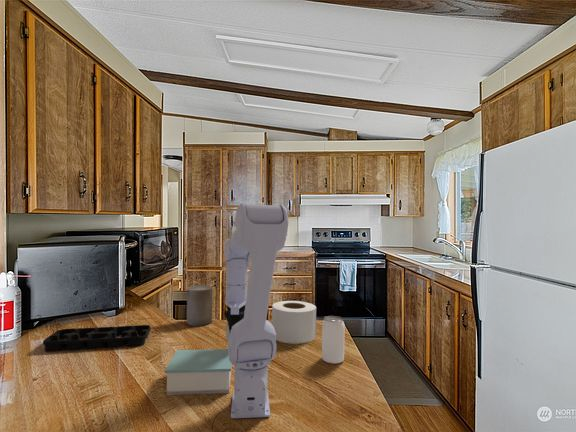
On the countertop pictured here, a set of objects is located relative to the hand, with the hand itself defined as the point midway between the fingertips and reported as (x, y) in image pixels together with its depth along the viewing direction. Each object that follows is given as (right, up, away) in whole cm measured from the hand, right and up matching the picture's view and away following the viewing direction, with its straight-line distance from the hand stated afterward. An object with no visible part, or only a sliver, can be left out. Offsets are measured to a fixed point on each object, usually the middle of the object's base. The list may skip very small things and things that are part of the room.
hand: (235, 334), depth 90 cm
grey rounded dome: (0, -2, 0) cm, 1 cm away
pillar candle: (-21, -10, +40) cm, 46 cm away
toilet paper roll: (+16, -11, +27) cm, 33 cm away
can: (+27, -10, +7) cm, 30 cm away
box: (-7, -9, -8) cm, 14 cm away
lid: (-7, -4, -8) cm, 11 cm away
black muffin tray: (-46, -9, +17) cm, 50 cm away
